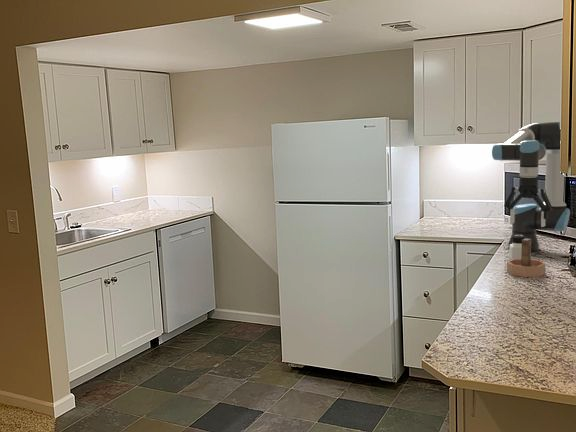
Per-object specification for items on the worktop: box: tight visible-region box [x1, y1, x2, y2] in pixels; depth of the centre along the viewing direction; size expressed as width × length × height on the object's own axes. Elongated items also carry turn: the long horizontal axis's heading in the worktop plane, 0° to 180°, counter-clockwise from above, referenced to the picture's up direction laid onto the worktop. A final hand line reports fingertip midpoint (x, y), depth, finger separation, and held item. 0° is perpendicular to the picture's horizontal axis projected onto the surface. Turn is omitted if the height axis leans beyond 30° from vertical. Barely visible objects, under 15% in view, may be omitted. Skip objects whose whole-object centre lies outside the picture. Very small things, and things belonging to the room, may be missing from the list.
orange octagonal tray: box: [506, 258, 546, 278], centre depth 262 cm, size 15×15×4 cm
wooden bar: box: [521, 238, 532, 266], centre depth 261 cm, size 4×2×14 cm, turn 136°
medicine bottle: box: [508, 235, 526, 261], centre depth 284 cm, size 7×7×12 cm
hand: (527, 224), depth 259 cm, fingers open, 13 cm apart
